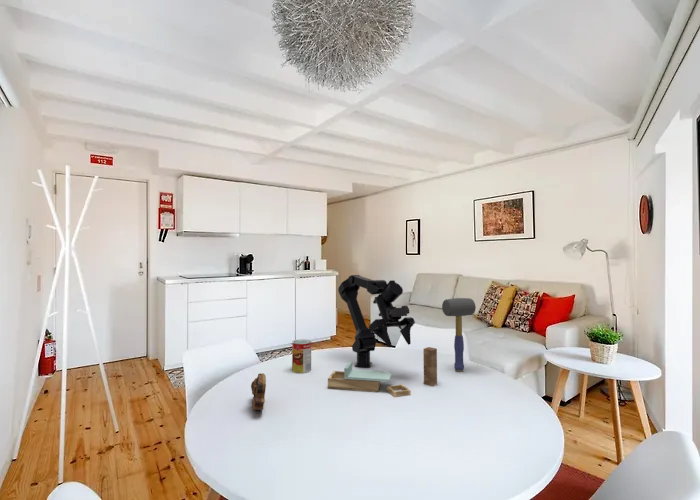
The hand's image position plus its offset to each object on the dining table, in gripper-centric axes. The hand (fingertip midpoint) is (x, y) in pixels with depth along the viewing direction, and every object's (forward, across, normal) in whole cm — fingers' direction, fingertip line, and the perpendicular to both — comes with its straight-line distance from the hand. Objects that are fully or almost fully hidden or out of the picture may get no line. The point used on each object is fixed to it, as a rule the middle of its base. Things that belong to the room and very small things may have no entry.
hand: (400, 345), depth 133 cm
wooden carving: (+9, -51, +16) cm, 54 cm away
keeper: (+16, -6, +3) cm, 17 cm away
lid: (+7, -12, +9) cm, 16 cm away
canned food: (-7, -24, +36) cm, 44 cm away
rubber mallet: (+12, +31, +6) cm, 33 cm away
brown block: (+15, +9, +3) cm, 18 cm away
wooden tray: (+8, -15, +14) cm, 22 cm away
